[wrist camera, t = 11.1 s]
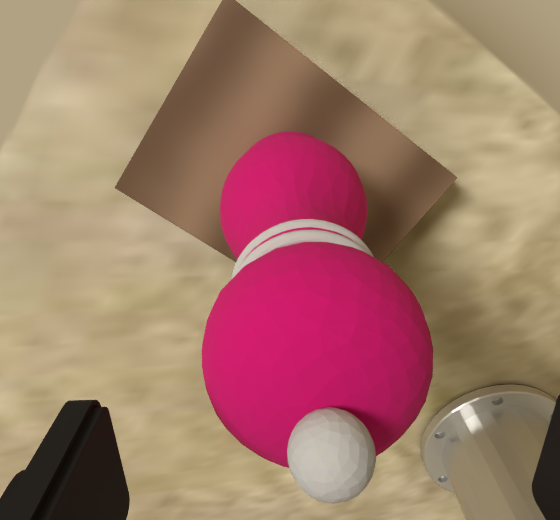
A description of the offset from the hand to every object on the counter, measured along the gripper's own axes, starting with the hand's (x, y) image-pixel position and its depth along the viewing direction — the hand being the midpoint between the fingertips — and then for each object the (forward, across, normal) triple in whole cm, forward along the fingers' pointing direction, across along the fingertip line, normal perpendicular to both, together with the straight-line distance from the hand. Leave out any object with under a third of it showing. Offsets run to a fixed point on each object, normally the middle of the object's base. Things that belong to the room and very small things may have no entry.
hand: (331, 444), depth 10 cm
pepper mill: (+19, 0, 0) cm, 19 cm away
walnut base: (+22, 0, -1) cm, 22 cm away
